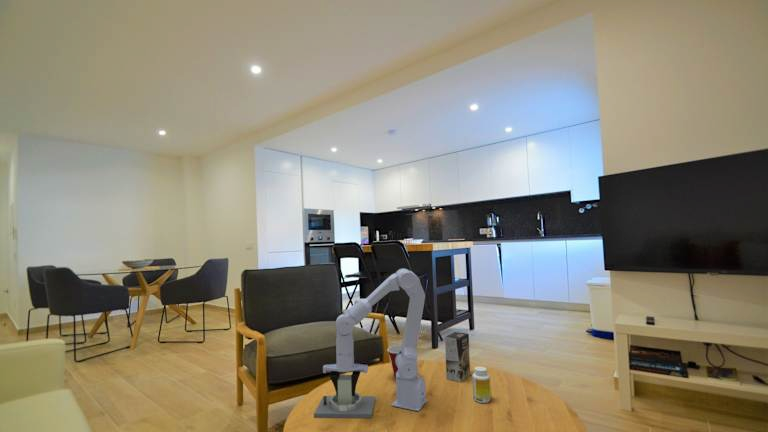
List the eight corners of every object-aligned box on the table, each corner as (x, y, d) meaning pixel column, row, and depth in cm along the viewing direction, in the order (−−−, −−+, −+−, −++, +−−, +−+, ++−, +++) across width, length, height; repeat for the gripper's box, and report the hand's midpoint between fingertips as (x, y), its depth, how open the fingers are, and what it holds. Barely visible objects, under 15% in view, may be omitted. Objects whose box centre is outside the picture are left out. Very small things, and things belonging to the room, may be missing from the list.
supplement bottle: (494, 401, 115) (492, 370, 115) (479, 405, 113) (478, 372, 113) (483, 394, 120) (482, 364, 120) (470, 397, 118) (468, 367, 119)
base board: (375, 399, 118) (375, 396, 118) (371, 418, 106) (371, 414, 106) (323, 399, 120) (323, 395, 120) (313, 417, 108) (313, 413, 108)
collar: (363, 397, 118) (363, 389, 118) (359, 412, 108) (359, 404, 108) (327, 397, 119) (327, 389, 119) (319, 412, 109) (319, 403, 109)
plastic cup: (390, 372, 142) (389, 342, 143) (416, 373, 140) (415, 343, 141) (385, 383, 132) (384, 351, 132) (413, 385, 129) (412, 352, 130)
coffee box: (461, 382, 130) (459, 338, 131) (445, 378, 134) (444, 336, 135) (471, 374, 138) (469, 333, 139) (456, 371, 141) (454, 331, 142)
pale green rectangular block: (354, 399, 116) (353, 374, 116) (351, 405, 111) (351, 380, 111) (341, 398, 116) (340, 374, 117) (338, 405, 111) (337, 380, 112)
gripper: (368, 348, 118) (369, 389, 117) (326, 348, 119) (327, 389, 118) (365, 355, 111) (366, 399, 110) (321, 355, 112) (321, 398, 111)
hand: (345, 394), depth 113 cm, fingers closed on pale green rectangular block, 4 cm apart
